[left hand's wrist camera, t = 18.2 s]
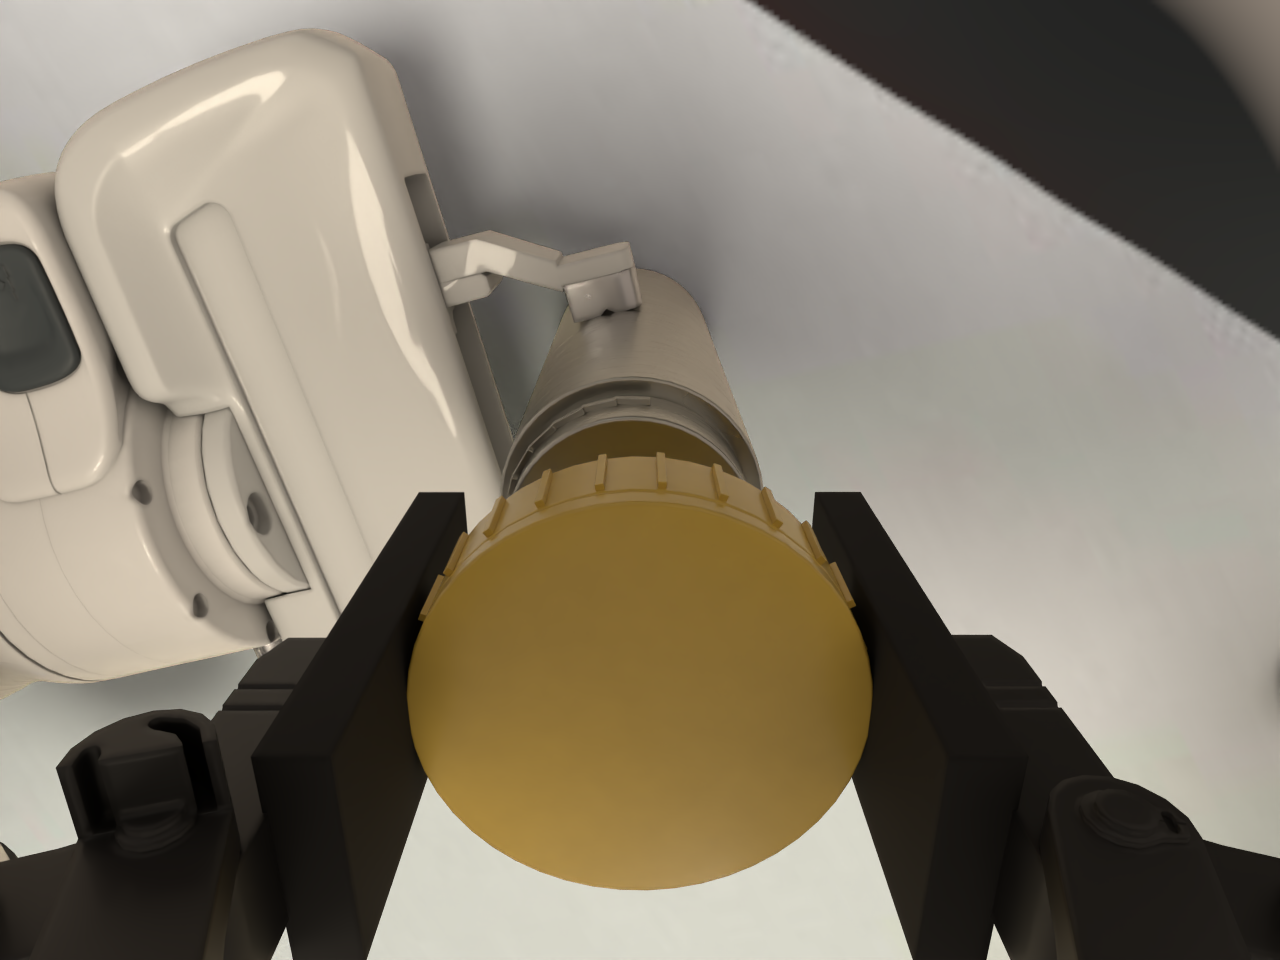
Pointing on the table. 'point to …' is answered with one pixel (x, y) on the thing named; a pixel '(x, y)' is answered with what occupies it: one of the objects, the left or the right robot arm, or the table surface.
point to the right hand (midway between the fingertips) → (664, 389)
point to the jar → (632, 393)
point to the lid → (639, 676)
